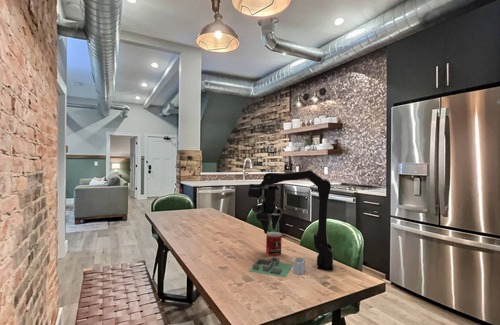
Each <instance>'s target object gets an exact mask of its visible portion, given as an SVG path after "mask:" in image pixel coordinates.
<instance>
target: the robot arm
mask: <svg viewBox="0 0 500 325" xmlns="http://www.w3.org/2000/svg"><path fill="white" fill-rule="evenodd" d="M262 179H263V180H262V181H261V182H260V184H255V183H250V184H249V188H248V192H247V195H248V198H249V199H262V197H263V200H262V202H261V204H257V203H255V204H252V206H251V208H252V209H251V211H252V212H253V213H254V214H255V220H257V221H259V223H261V226H262V229H263V233H264V234H266V235H267V233H268V232H269V228H270V227H271V228H272V230H276V228H277V226H278V223H279V222H280V219H281V218H282V216H283V214H284V210H283V208H281V207H277V204H278V200H277V191H279V190H281V187H280V186H279V185H278V184H279V183H282V182H288V181H296V180H305V179H306V180H307V179H308V180H309V181H310V182H311V183H312V184H314V185H315V186H317V191H318V192H317V193H318V200H319V201H318V202H319V206H318V227H317V232H315V231H314V233H313V242H312V243H313V245H314V248H315V249H316V251H318V254H317V256H316V265H317V269H318V270H323V271H325V270H326V271H333V270H334V253H333V250H334V249H333V248H334V247H333V246H332V245H331V244H330V243H329V238H328V230H327V225H328V224H327V222H328V201H329V197H330V193H331V189H332V183H331V182H330V180H328V179H327V178H324V179H323V178H322V177H320V175H318V174H316V173H315V172H314V171H313V170H312V169H308V170H301V171H292V172H286V173H282V172H267V173H265V174H264V175H263V178H262ZM267 186H268V187H267Z"/></svg>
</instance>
